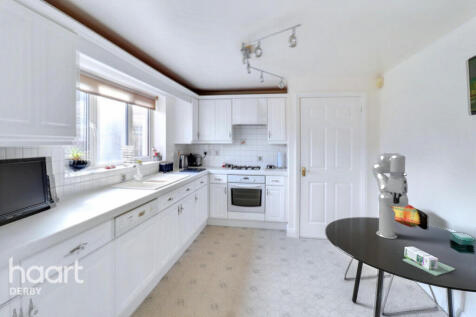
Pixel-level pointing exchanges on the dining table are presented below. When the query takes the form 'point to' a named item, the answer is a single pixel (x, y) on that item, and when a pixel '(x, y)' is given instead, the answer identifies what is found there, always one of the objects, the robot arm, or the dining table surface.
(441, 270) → the mat
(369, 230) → the dining table surface
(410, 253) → the syrup box
